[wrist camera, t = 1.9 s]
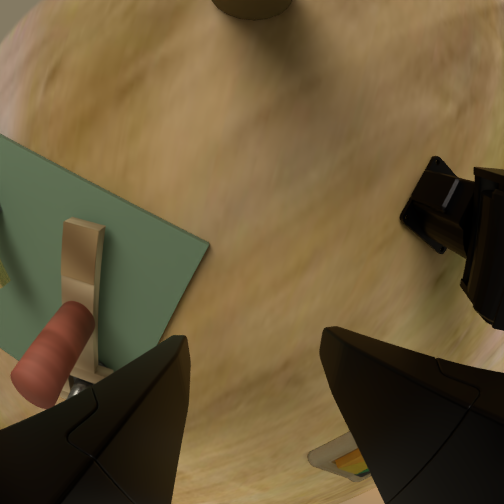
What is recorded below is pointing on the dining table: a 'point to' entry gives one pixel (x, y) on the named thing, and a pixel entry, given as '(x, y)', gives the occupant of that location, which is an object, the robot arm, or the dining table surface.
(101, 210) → the latch board
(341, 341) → the robot arm
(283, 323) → the dining table surface
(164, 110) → the dining table surface
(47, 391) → the latch bar
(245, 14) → the cork
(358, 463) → the wooden puzzle
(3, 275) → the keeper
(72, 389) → the pintle
